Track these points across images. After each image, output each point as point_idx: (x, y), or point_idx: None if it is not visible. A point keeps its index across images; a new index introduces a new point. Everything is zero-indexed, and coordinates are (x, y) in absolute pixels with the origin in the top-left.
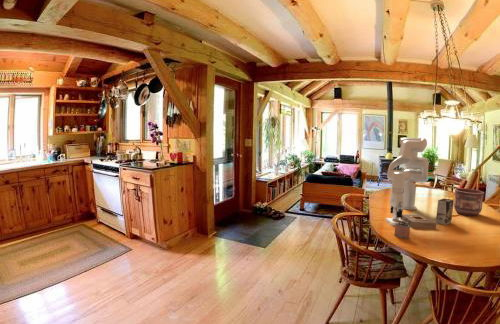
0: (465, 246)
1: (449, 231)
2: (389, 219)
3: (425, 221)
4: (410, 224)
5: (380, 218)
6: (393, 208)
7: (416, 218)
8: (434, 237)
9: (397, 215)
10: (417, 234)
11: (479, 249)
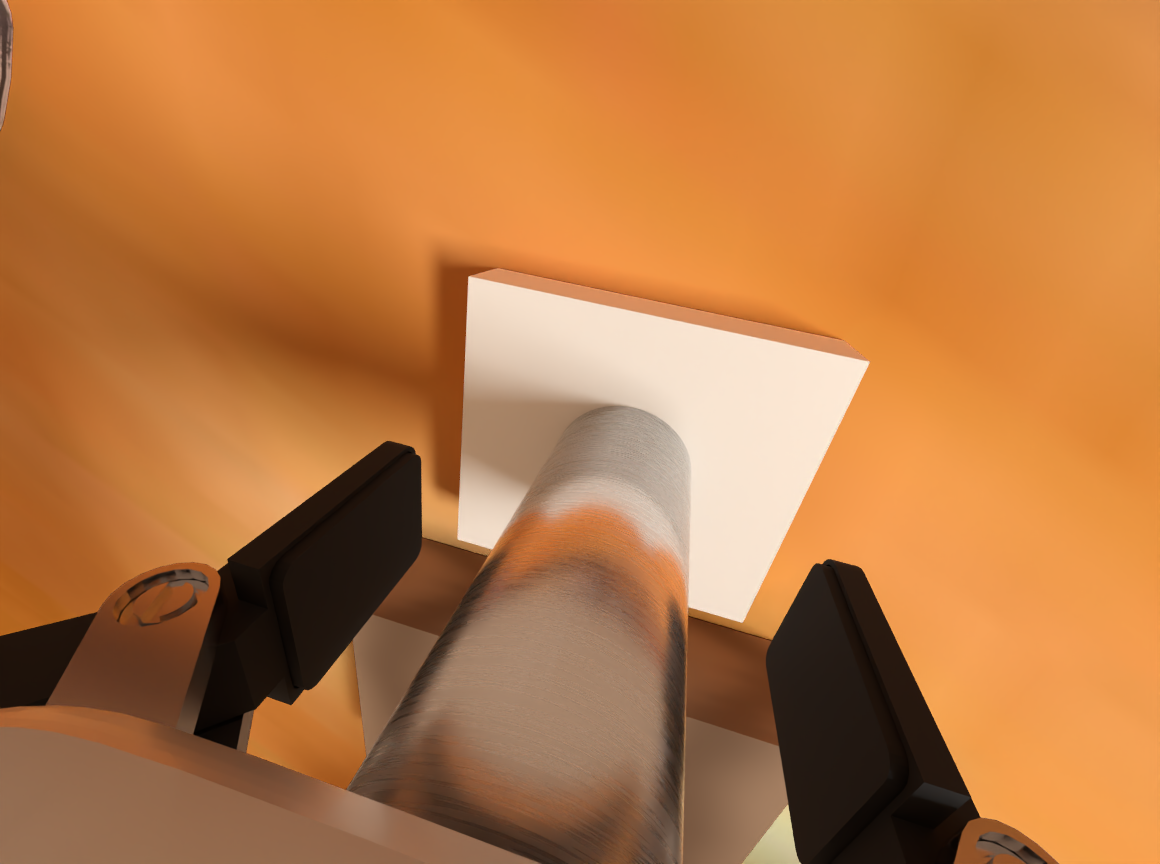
0: (43, 597)
1: (355, 756)
2: (712, 378)
3: None
4: (442, 573)
5: (1066, 317)
6: (541, 704)
7: None
8: (149, 532)
9: (351, 481)
10: (175, 421)
11: None
